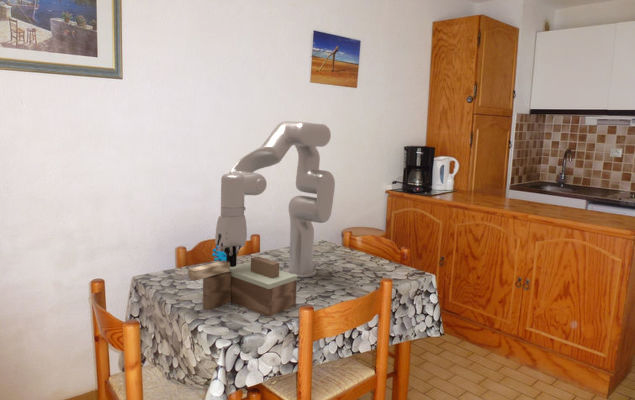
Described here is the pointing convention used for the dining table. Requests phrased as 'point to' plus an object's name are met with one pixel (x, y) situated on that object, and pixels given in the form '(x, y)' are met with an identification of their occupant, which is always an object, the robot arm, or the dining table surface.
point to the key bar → (208, 270)
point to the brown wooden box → (247, 294)
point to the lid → (262, 273)
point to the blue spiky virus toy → (219, 255)
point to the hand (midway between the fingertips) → (231, 265)
